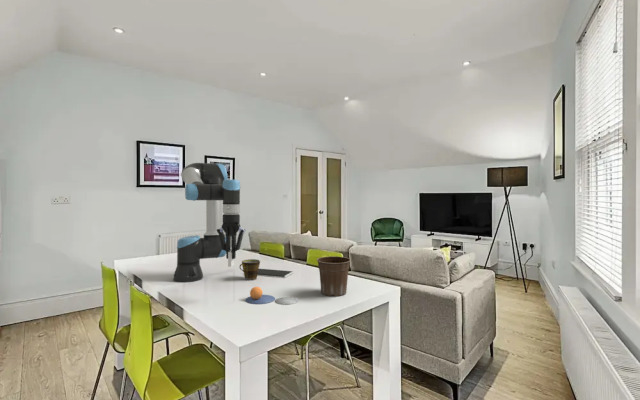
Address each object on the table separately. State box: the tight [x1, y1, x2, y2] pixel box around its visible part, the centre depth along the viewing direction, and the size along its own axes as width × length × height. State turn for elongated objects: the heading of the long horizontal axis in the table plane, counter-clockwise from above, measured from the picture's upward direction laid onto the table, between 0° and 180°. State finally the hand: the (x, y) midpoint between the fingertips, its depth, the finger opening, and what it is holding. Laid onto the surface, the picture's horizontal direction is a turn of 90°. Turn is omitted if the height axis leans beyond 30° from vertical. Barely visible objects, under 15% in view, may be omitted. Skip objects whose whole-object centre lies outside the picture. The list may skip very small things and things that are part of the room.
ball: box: [249, 286, 264, 299], centre depth 148 cm, size 6×6×6 cm
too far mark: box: [274, 296, 299, 306], centre depth 146 cm, size 10×10×1 cm
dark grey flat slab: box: [257, 268, 295, 279], centre depth 197 cm, size 13×27×2 cm, turn 73°
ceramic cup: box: [239, 258, 261, 281], centre depth 183 cm, size 13×10×10 cm
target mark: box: [245, 294, 276, 305], centre depth 148 cm, size 13×13×1 cm
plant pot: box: [316, 255, 351, 297], centre depth 159 cm, size 16×16×16 cm
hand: (230, 265), depth 150 cm, fingers closed
